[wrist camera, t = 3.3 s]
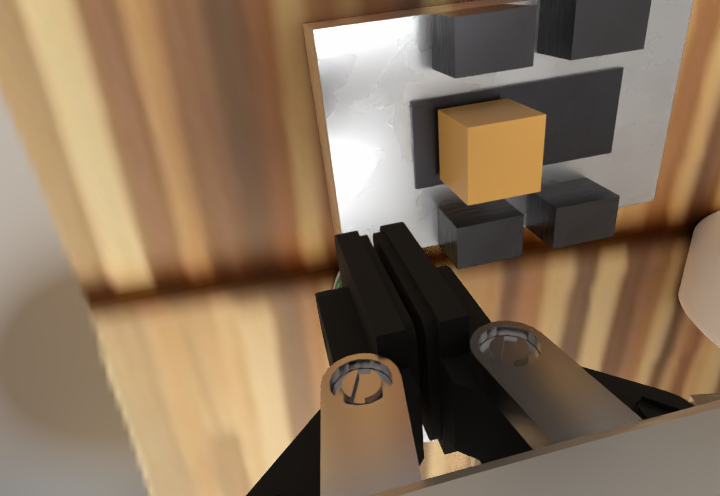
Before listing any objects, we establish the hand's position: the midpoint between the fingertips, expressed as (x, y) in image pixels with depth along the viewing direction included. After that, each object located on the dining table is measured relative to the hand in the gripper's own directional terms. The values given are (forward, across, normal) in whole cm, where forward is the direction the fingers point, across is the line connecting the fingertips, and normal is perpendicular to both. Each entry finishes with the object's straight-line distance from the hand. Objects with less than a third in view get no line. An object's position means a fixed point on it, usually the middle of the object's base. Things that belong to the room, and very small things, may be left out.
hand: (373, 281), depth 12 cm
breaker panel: (+13, -9, 0) cm, 16 cm away
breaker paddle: (+9, -7, 0) cm, 11 cm away
